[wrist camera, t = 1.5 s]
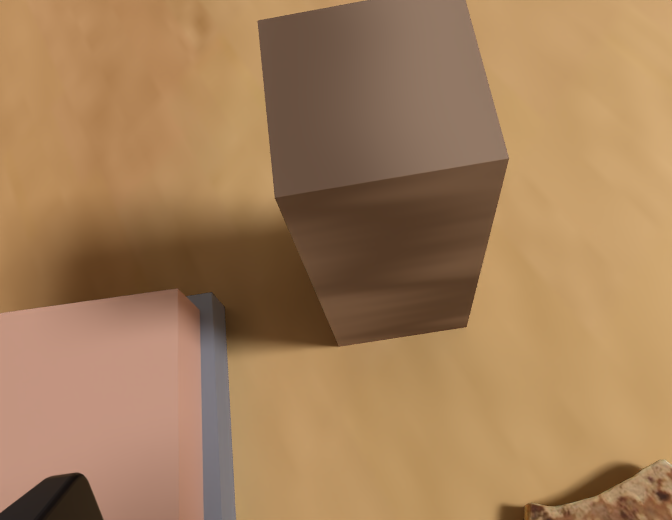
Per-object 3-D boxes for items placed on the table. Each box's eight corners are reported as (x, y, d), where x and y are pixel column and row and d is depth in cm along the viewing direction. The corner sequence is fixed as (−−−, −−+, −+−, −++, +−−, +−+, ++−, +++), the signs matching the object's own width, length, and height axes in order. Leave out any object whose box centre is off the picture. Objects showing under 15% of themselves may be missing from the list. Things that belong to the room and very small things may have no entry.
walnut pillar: (441, 213, 24) (461, -17, 14) (466, 327, 22) (509, 158, 12) (324, 232, 24) (257, 20, 14) (339, 346, 22) (274, 197, 12)
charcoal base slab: (229, 311, 24) (211, 292, 22) (241, 542, 21) (223, 543, 19) (26, 343, 24) (-9, 327, 22) (8, 573, 21) (-35, 578, 19)
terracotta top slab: (199, 310, 22) (177, 288, 20) (204, 531, 19) (179, 532, 17) (4, 336, 22) (-37, 318, 20) (-20, 557, 19) (-70, 561, 17)
